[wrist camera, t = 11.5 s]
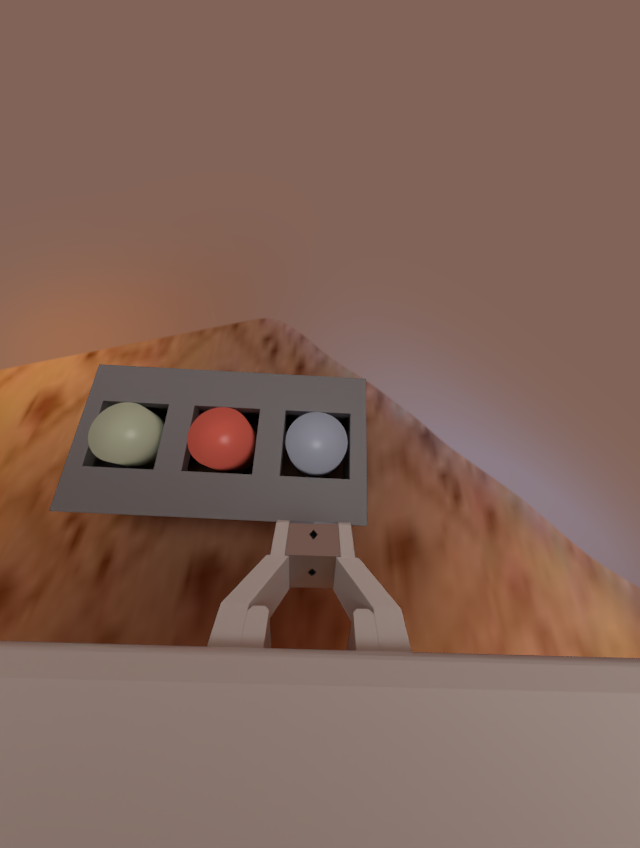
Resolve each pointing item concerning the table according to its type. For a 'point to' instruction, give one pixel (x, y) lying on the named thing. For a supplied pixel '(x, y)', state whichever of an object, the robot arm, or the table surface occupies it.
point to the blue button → (316, 444)
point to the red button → (222, 440)
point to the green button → (126, 435)
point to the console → (218, 492)
